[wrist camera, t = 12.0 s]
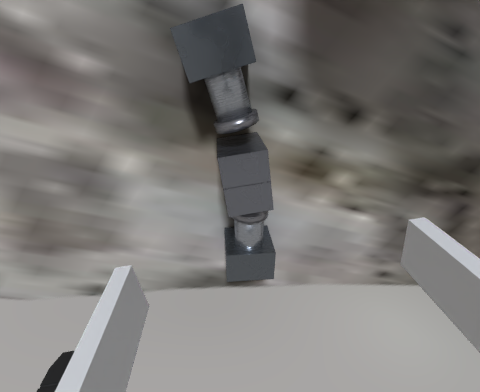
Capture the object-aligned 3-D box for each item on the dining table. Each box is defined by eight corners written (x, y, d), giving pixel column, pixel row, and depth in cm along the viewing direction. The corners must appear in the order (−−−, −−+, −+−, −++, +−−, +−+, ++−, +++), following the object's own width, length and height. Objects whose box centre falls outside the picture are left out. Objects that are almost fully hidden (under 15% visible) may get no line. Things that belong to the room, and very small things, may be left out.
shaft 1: (179, 35, 22) (170, 28, 17) (237, 15, 22) (242, 3, 17) (210, 126, 25) (209, 140, 21) (260, 111, 25) (270, 121, 21)
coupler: (262, 182, 29) (273, 209, 23) (226, 188, 29) (228, 217, 23) (256, 132, 26) (267, 149, 21) (216, 138, 26) (217, 158, 21)
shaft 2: (223, 194, 29) (224, 218, 24) (268, 192, 29) (278, 215, 25) (225, 251, 32) (227, 281, 28) (265, 249, 33) (273, 278, 28)
